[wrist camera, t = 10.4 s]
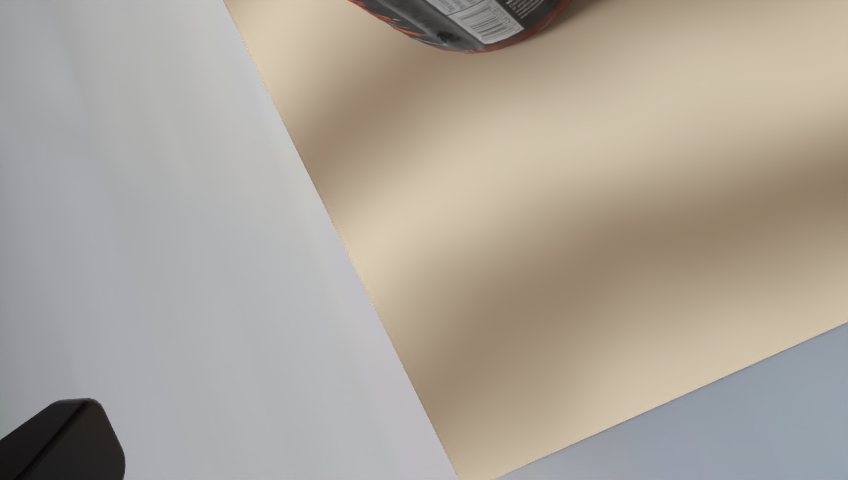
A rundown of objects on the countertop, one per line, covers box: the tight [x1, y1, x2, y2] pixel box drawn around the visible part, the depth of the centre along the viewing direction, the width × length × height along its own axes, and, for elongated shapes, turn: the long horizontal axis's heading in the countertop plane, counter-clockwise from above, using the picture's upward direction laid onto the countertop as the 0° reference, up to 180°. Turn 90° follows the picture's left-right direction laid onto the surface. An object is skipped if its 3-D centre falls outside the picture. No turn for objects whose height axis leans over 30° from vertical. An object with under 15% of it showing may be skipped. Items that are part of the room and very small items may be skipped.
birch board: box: [223, 0, 848, 480], centre depth 20 cm, size 18×14×1 cm
